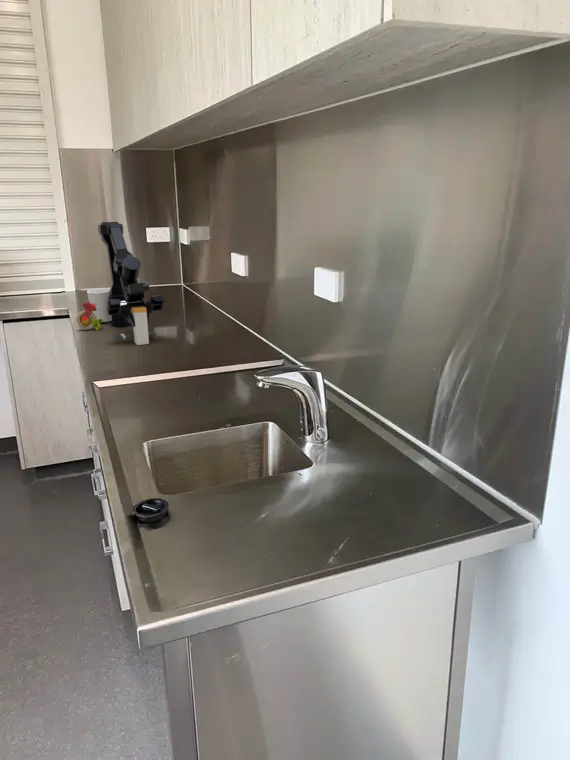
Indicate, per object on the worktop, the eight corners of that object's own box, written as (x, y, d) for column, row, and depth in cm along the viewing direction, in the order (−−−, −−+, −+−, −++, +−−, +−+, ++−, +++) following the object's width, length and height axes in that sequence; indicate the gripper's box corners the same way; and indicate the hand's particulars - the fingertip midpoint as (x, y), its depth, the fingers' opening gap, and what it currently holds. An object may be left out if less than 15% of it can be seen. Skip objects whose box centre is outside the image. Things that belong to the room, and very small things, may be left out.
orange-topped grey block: (134, 342, 203) (131, 307, 199) (146, 341, 205) (143, 306, 201) (137, 345, 199) (134, 309, 196) (149, 343, 201) (146, 308, 197)
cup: (119, 319, 240) (116, 288, 236) (110, 325, 231) (107, 292, 227) (96, 319, 241) (92, 288, 237) (86, 324, 232) (82, 292, 228)
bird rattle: (84, 338, 220) (107, 327, 221) (69, 311, 216) (91, 300, 217) (85, 334, 226) (106, 323, 227) (69, 308, 222) (91, 297, 223)
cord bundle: (116, 341, 206) (115, 337, 206) (113, 338, 211) (113, 334, 210) (157, 337, 213) (157, 333, 212) (154, 334, 217) (153, 330, 217)
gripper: (105, 275, 194) (114, 314, 188) (160, 271, 202) (171, 309, 196) (103, 295, 203) (112, 333, 198) (156, 291, 211) (167, 327, 205)
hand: (141, 325), depth 199 cm, fingers closed on orange-topped grey block, 4 cm apart
